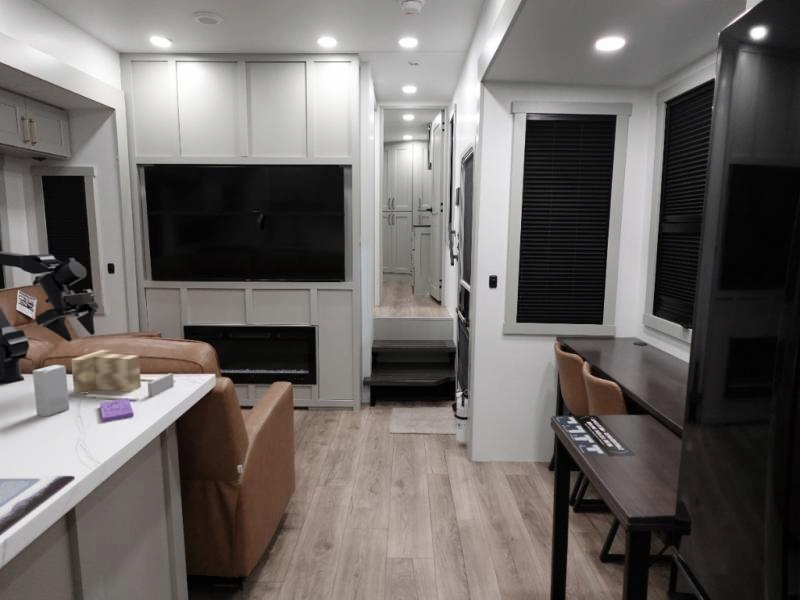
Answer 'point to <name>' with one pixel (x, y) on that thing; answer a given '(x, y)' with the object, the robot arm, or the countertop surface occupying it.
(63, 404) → the skincare box
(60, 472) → the countertop surface
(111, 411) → the sponges
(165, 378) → the tray
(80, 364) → the t block
